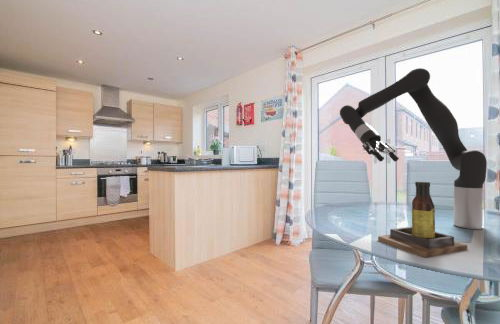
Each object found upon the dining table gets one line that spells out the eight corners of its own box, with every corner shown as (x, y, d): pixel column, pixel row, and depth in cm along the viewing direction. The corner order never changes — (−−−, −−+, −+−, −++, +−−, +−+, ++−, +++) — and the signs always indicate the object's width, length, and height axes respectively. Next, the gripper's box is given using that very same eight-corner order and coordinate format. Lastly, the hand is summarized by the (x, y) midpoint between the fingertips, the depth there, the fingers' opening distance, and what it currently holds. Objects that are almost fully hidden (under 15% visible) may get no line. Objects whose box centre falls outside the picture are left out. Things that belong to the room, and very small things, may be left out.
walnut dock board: (417, 234, 91) (417, 224, 91) (467, 249, 76) (467, 237, 76) (378, 240, 84) (378, 229, 84) (424, 257, 69) (424, 244, 69)
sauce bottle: (439, 245, 76) (439, 183, 75) (417, 243, 77) (418, 182, 77) (428, 238, 82) (428, 181, 82) (408, 237, 83) (408, 180, 83)
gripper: (360, 128, 104) (383, 153, 94) (383, 129, 110) (407, 153, 99) (351, 141, 109) (371, 166, 99) (373, 142, 114) (395, 166, 104)
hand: (389, 160), depth 99 cm, fingers open, 8 cm apart
